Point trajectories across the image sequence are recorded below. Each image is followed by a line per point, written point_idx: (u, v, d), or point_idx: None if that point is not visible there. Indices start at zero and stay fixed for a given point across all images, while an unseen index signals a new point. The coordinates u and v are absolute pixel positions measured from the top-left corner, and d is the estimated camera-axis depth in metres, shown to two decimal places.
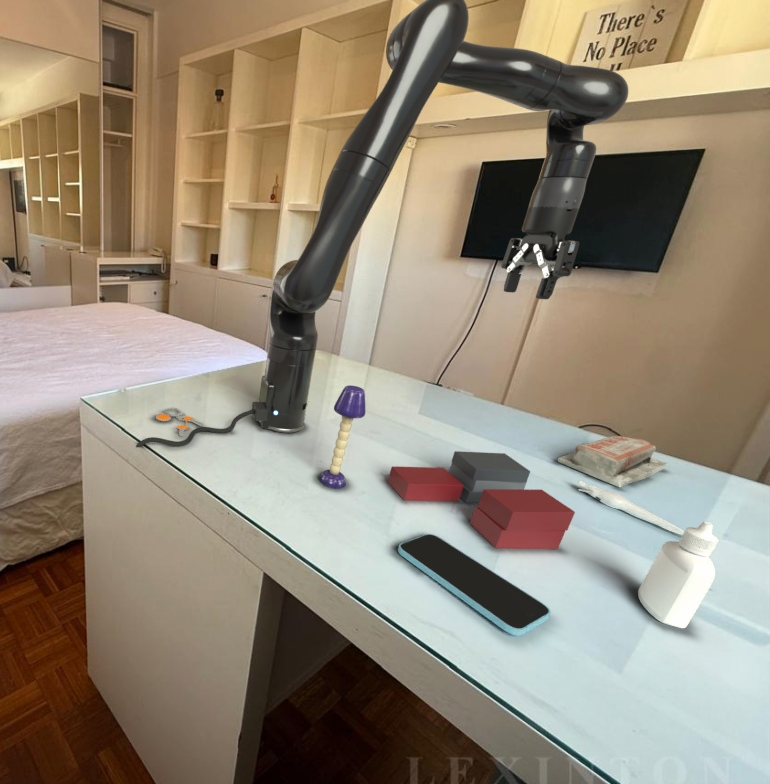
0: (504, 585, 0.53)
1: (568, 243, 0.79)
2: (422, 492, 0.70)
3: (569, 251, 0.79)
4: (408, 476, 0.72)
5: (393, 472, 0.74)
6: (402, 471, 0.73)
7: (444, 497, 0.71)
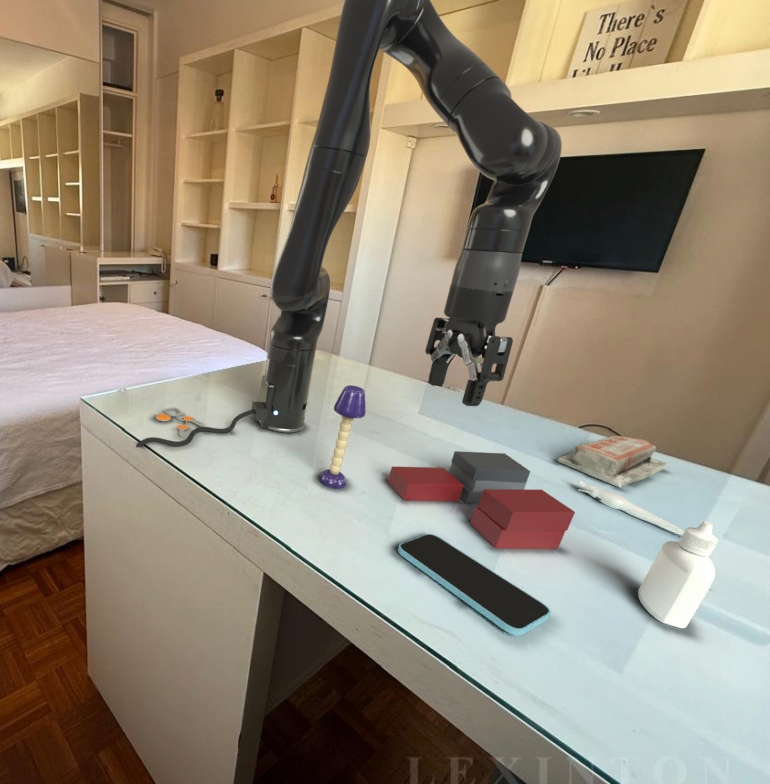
0: (504, 585, 0.53)
1: (497, 340, 0.58)
2: (422, 492, 0.70)
3: (499, 350, 0.59)
4: (408, 476, 0.72)
5: (393, 472, 0.74)
6: (402, 471, 0.73)
7: (444, 497, 0.71)
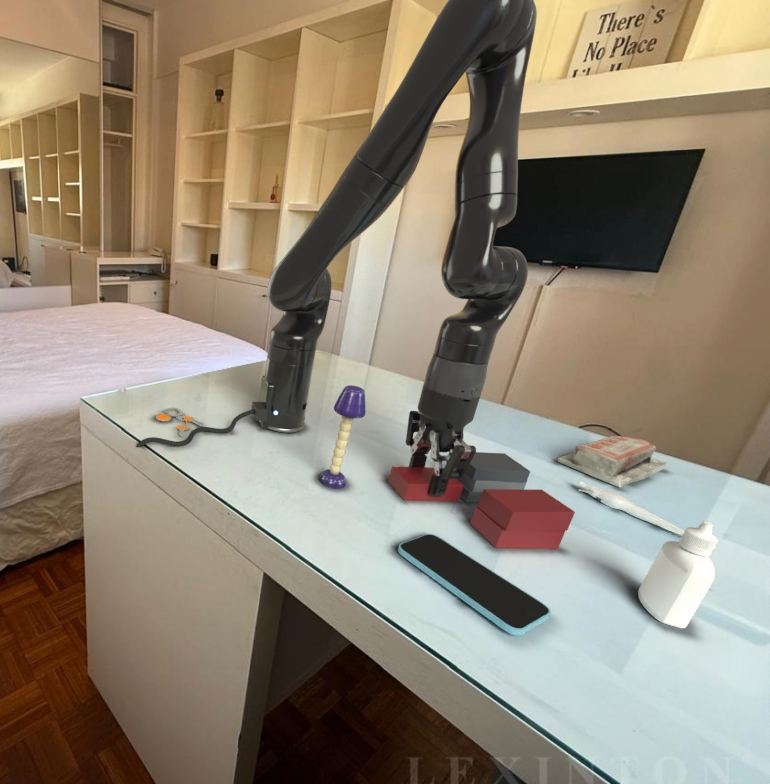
0: (504, 585, 0.53)
1: (462, 451, 0.63)
2: (422, 492, 0.70)
3: (462, 458, 0.64)
4: (408, 476, 0.72)
5: (393, 472, 0.74)
6: (402, 471, 0.73)
7: (444, 497, 0.71)
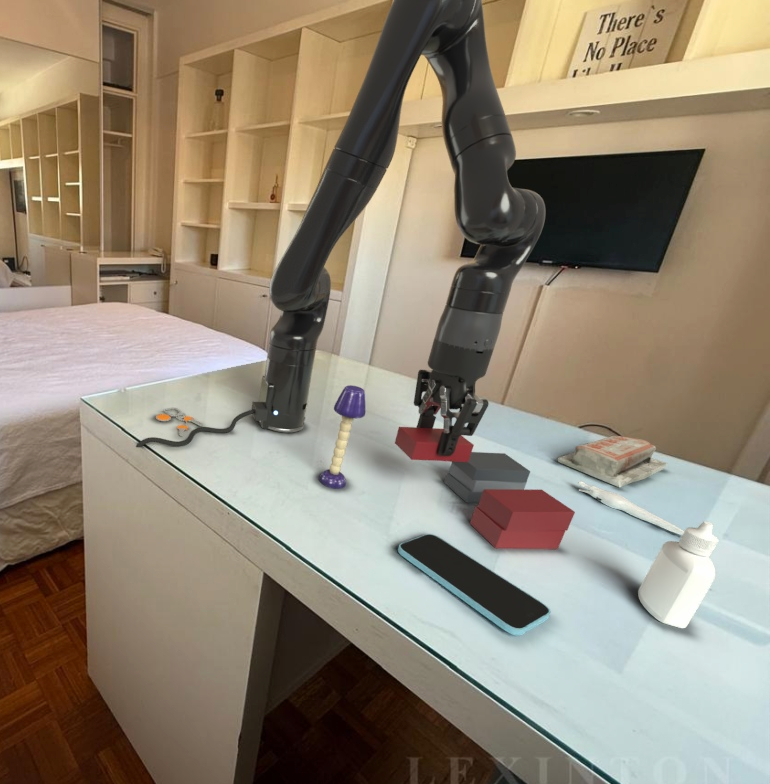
0: (504, 585, 0.53)
1: (473, 404, 0.61)
2: (430, 451, 0.68)
3: (474, 412, 0.62)
4: (416, 435, 0.70)
5: (400, 432, 0.72)
6: (410, 431, 0.71)
7: (453, 457, 0.69)
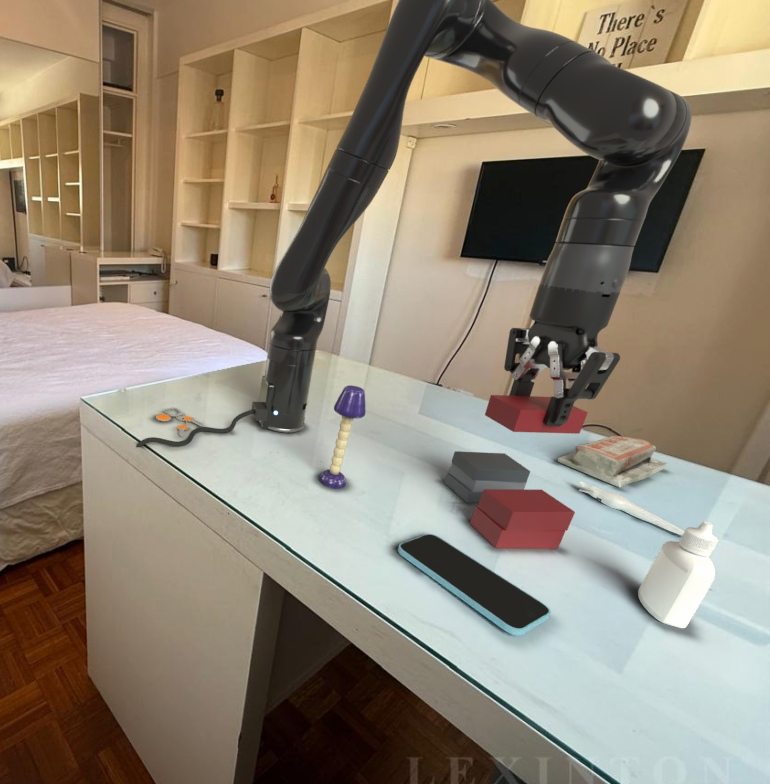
0: (504, 585, 0.53)
1: (602, 358, 0.50)
2: (536, 421, 0.57)
3: (601, 369, 0.51)
4: (515, 403, 0.58)
5: (494, 401, 0.61)
6: (506, 399, 0.60)
7: (562, 428, 0.57)
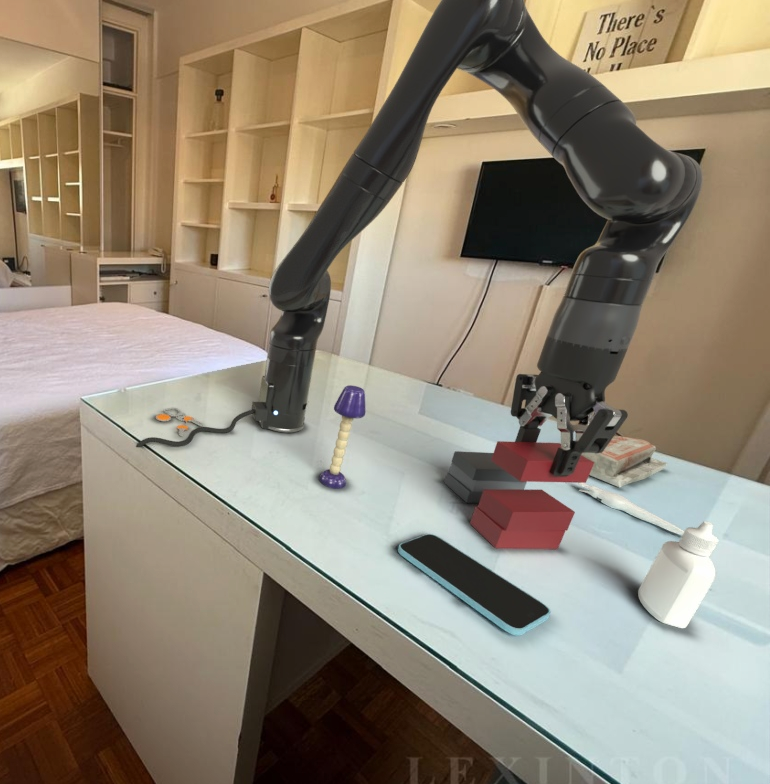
0: (504, 585, 0.53)
1: (610, 416, 0.50)
2: (543, 471, 0.57)
3: (608, 425, 0.51)
4: (522, 451, 0.59)
5: (500, 448, 0.61)
6: (513, 447, 0.60)
7: (568, 477, 0.58)
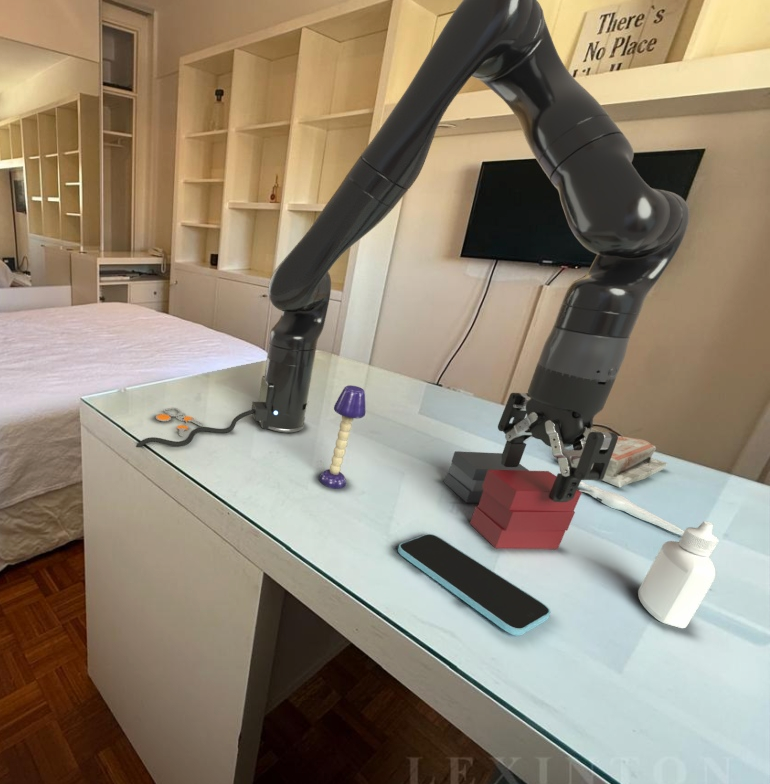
0: (504, 585, 0.53)
1: (600, 438, 0.51)
2: (532, 501, 0.59)
3: (602, 448, 0.51)
4: (512, 481, 0.60)
5: (491, 476, 0.62)
6: (503, 476, 0.61)
7: (556, 506, 0.59)
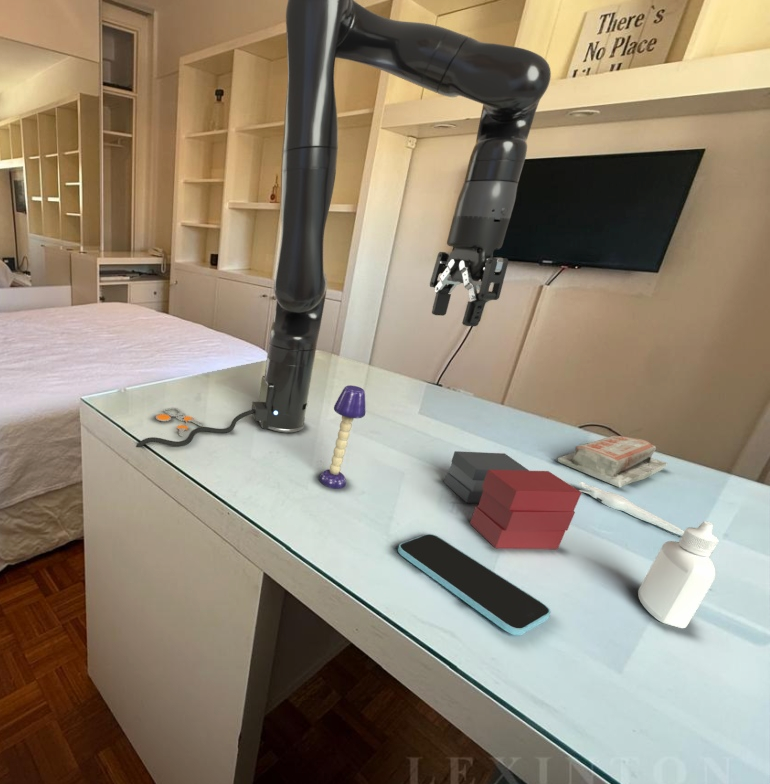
0: (504, 585, 0.53)
1: (494, 261, 0.65)
2: (532, 501, 0.59)
3: (496, 270, 0.66)
4: (512, 481, 0.60)
5: (491, 476, 0.62)
6: (503, 476, 0.61)
7: (556, 506, 0.59)
